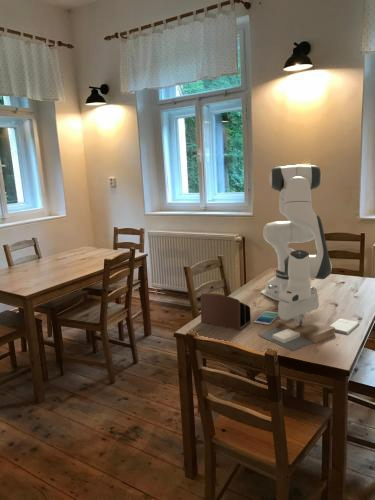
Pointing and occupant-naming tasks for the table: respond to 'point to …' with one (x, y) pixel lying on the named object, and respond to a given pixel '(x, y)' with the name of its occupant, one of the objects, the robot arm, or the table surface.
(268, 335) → the mat
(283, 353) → the table surface
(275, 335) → the cream flat block
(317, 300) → the robot arm
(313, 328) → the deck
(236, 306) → the letter holder
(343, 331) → the external hard drive
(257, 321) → the smartphone
